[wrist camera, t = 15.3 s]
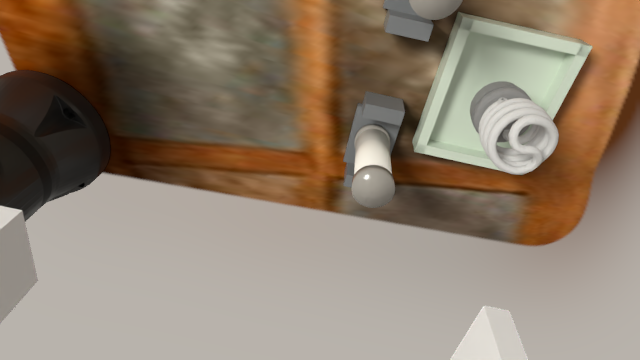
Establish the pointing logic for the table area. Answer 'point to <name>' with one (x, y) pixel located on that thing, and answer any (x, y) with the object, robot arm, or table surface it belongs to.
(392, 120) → the clip block
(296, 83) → the table surface
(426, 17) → the grey capped cylinder
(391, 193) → the fuse
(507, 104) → the light bulb
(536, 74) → the tray
